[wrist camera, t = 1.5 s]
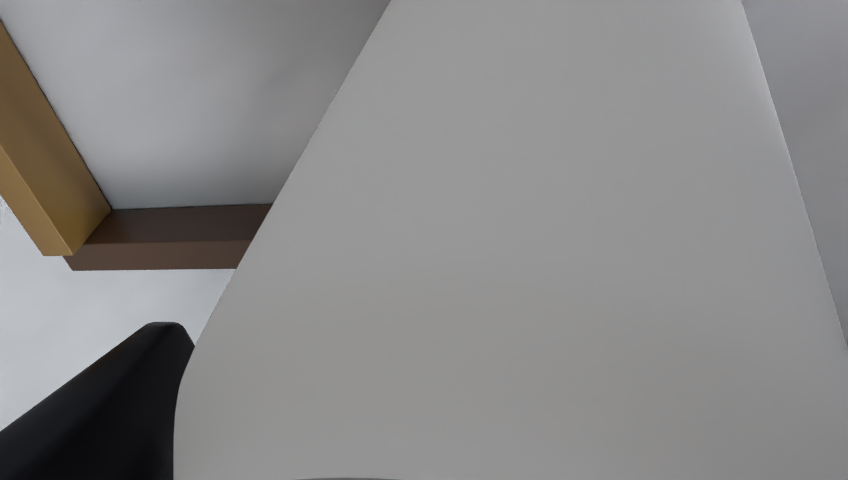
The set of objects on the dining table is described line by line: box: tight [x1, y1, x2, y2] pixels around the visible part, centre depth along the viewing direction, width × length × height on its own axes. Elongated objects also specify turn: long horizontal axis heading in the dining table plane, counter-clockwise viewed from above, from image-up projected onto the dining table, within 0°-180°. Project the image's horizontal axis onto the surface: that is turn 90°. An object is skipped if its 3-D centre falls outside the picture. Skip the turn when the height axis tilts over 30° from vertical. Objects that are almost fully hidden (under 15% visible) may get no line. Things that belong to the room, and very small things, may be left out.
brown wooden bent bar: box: [0, 21, 273, 271], centre depth 15 cm, size 17×10×2 cm, turn 100°
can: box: [173, 0, 848, 480], centre depth 10 cm, size 6×6×12 cm
